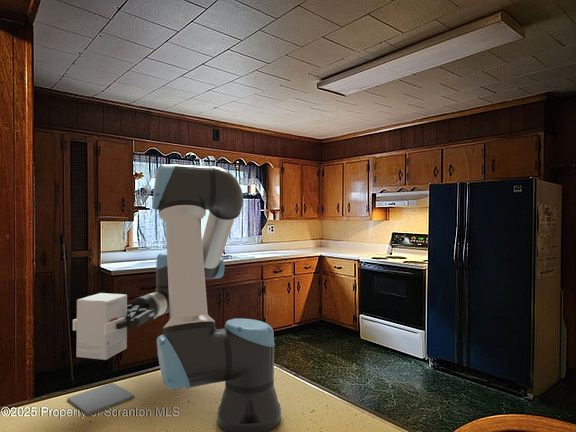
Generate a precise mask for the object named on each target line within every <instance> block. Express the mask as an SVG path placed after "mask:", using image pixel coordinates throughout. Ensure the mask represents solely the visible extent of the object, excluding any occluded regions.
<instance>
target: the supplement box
mask: <svg viewBox="0 0 576 432" xmlns="http://www.w3.org/2000/svg"><path fill="white" fill-rule="evenodd" d="M127 305H128V295H127V294H123V293H106V292H99V293H96V294H93V295H87V296H85V297H82V298H77V299H76V319H77V330H76V348H75V349H76V351H75V352H76V358H86V359H93V360H102V361H106V360H109V359H110V358H112V357H113V356H115V355H117V354H119V353H121V352H122V351H125V350H126V349H128V344H127V343H128V328H127V327H125V328H123V329H121V330H118V331H116V332H113V333H111V334H108V335H104V324H106V323H108V322H111V321H114V320H117V319H120V318H125V320H126V315H127Z"/></svg>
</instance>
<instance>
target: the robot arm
mask: <svg viewBox="0 0 576 432" xmlns="http://www.w3.org/2000/svg"><path fill="white" fill-rule="evenodd" d="M153 186H154V187H153V192H152V193H153V194H152V206H151V207H152V209H153V210H155V211H158V218H159V219H160V220H162V221H163V222H165V238H166V241H165V242H166V252H161V253H158V254H157V256H156V267H155V272H156V273H155V274H156V275H155V276H156V277H155V278H156V279H155V281H156V282H155V283H156V285H155V286H156V288H155V292H152V293H147V294H145V295H141V296H138V297H136V298H134V299H133V300H132V301H131V303H130V304H127V315H126V320H125V318H120V319H117V320H114V321H111V322H108V323H106V324H104V335H108V334H111V333H113V332H116V331H118V330H121V329H123V328H125V327H127V329H129V328H131V327H132V328H135V329H136V328H139V327H140V326H142V325H144V324H145V323H146V322H149V321H150V320H152V319H153V320H155V319H157V317H160V316H163V315H164V314H168V313H169V319H168V322H166V323H165V325H164V326H163V329H162V330H163V334H160V335H158V337H157V338H156V348H157V349H156V351H157V358H158V364H159V370H160V373H161V377H162V381H163V384H164V385H165V387H166V388H167V389H169V390H182V389H187V390H188V389H190V388H193V387H195V388H196V387H198V386H199V387H200V386H205V385H211V384H217V383H222V382H224V383H225V384H224V385H225V386H224V390H223V393H222V396H221V399H220V404H219V406H218V408H217V424H218V426H219V427H220V429H222V430H223V431H225V432H270V431H272V430H274V429H276V427H277V426H278V425H279V424H280V422H281V420H282V407H281V404H280V402H279V401H278V395H277V392H276V388H275V346H276V344H275V336H274V333H275V332H274V329H273V327H272V326H271V325H270V324H268V323H267V322H264V321H262V320H257V319H252V318H243V317H242V318H231V319H228V320H227V321H225V324H224V328H216V321H215V320H214V319H213V318H212V317H211V316H210V315H209V313H208V300H207V288H206V280H214V279H215V280H216V279H221V278H222V277H223V276H224V274H225V260H224V258H223V257H222V256H223V254H224V251H225V248H226V244H227V242H228V239H229V236H230V233H231V230H232V227H233V225H234V221H235V219H237V218H238V217H239V216H240V215H241V212H242V208H243V207H244V205H243V204H244V195H243V194H244V193H243V190H242V187H241V185H240V183H239V181H238V179H236V177H235V176H234V175H233V174H232V173H231V172H230V171H228V170H227V169H224V168H222V167H219V166H212V165H211V166H208V165H206V166H205V165H190V164H189V165H187V164H177V163H174V164H161V165H159V166H158V167H157V169H156V173H155V178H154V185H153ZM207 211H208V217H207V220H206V225H205V229H204V232H203V236H202V226H201V225H202V223H201V220H203V218H204V217H205V216H206V214H207ZM72 331H75V332H76V331H77V318H74V319H72Z"/></svg>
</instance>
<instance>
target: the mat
mask: <svg viewBox="0 0 576 432" xmlns="http://www.w3.org/2000/svg"><path fill="white" fill-rule="evenodd" d="M135 396H136V395H135V394H134V393H131V391H130V392H129V391H128V390H126V389H125V388H123V387H121V386H119V385H118V384H116V383H113V382H110V383H108V384H105V385H101V386H98V387H96V388H93V389H90V390H86V391H84V392H81V393H78V394H76V395H72V396H69V397H67V401H68V402H69V403H70V404H72V405H73V406H75V407H76V408H77V409H79V410H80V411H81V412H83V413H84V414H86V415H87V416H91V415H93V414H96V413H98V412H101V411H103V410H106V409H109V408H112V407H114V406H116V405H118V404H121V403H124V402H126V401H129V400H132V399H135Z"/></svg>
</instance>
